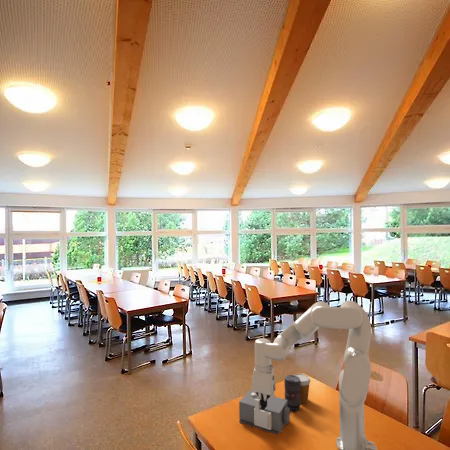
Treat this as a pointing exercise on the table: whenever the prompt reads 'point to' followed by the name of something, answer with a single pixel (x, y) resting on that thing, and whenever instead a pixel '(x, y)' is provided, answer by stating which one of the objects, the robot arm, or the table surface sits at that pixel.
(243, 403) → the housing
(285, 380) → the camera lens
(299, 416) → the table surface
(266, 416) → the hatch
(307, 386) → the disposable coffee cup
